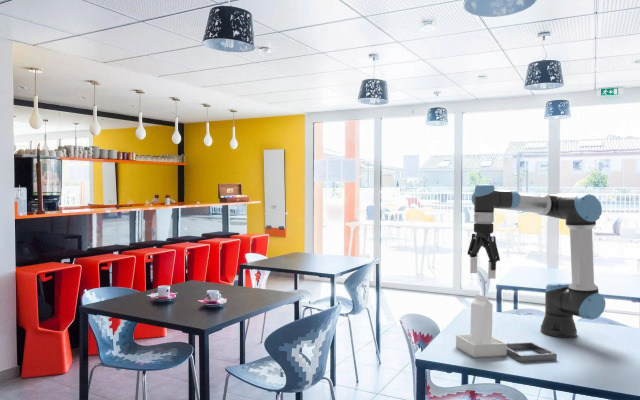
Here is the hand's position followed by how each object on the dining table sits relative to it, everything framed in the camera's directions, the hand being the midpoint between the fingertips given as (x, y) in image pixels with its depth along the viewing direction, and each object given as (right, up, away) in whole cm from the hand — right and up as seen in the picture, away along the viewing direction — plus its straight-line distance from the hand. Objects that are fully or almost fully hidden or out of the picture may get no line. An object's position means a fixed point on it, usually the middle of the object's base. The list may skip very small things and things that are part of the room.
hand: (482, 275), depth 203 cm
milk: (-1, -30, 0) cm, 30 cm away
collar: (+16, -31, -3) cm, 35 cm away
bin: (-1, -31, 0) cm, 31 cm away
